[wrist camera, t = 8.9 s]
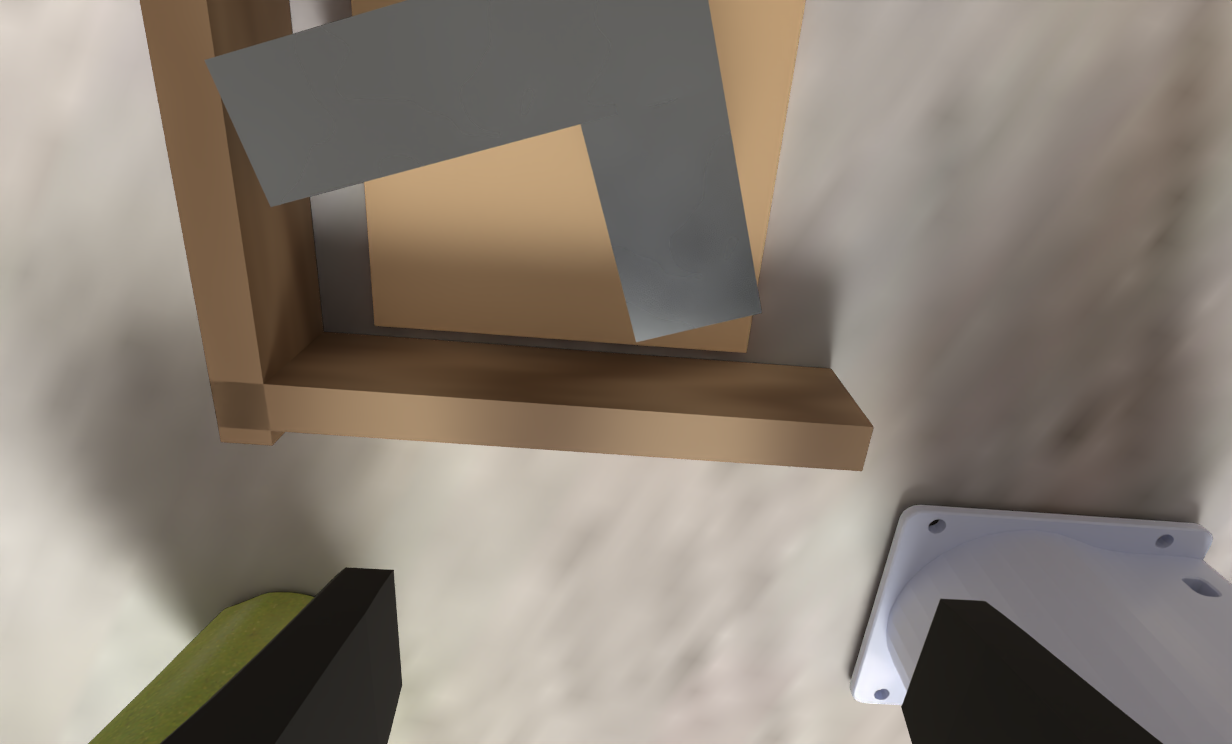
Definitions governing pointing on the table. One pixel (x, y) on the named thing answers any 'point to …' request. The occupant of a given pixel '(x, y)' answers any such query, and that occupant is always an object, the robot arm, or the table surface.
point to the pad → (564, 212)
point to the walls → (423, 368)
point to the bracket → (522, 123)
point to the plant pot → (202, 668)
